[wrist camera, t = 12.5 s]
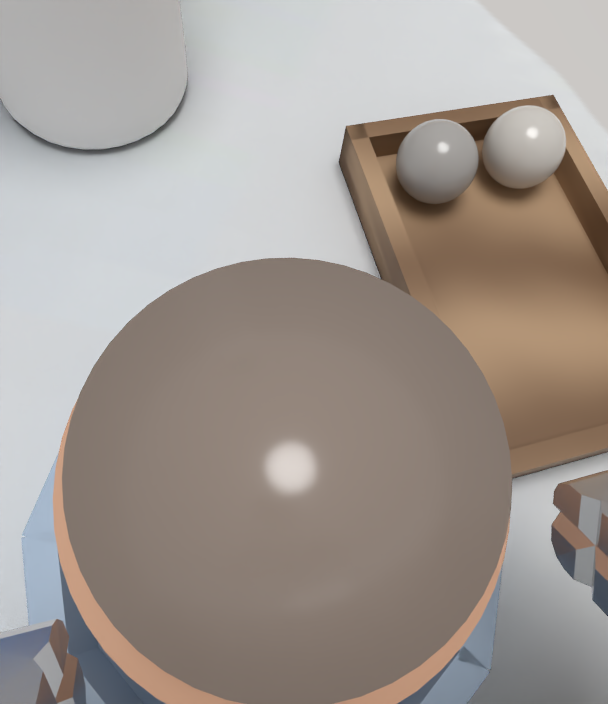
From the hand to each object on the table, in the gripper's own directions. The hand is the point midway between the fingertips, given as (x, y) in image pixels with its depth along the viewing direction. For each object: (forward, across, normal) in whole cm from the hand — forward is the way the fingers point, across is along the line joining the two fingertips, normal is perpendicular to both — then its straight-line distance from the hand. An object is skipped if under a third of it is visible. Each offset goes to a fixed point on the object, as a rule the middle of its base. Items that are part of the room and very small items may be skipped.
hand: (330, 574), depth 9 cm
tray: (+12, -10, 0) cm, 16 cm away
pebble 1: (+15, -8, -3) cm, 17 cm away
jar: (+7, 0, +5) cm, 8 cm away
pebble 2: (+15, -12, -4) cm, 19 cm away
